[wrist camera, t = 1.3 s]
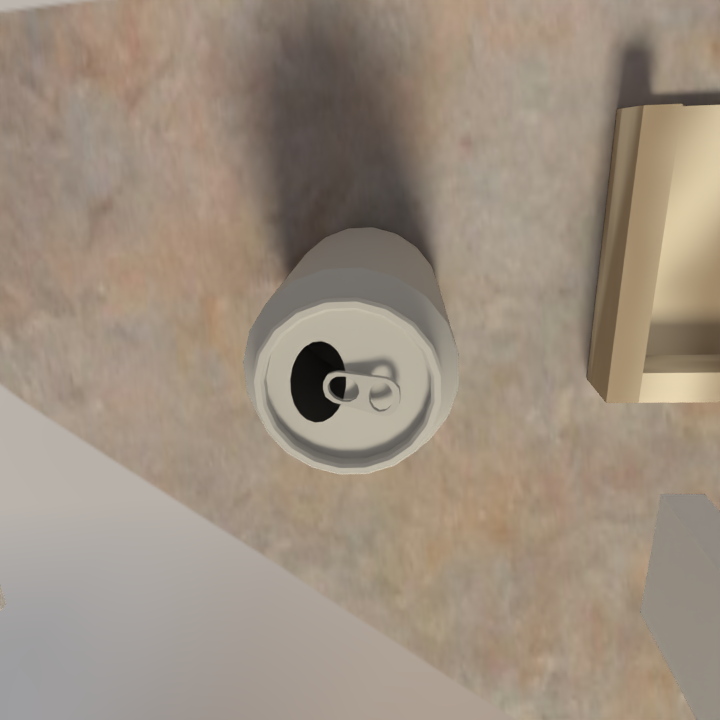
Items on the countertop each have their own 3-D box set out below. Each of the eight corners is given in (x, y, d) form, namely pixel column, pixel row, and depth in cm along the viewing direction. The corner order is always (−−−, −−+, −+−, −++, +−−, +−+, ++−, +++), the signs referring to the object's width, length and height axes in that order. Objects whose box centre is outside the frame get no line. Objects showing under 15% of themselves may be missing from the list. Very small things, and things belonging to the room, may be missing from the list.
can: (297, 216, 28) (232, 265, 17) (449, 233, 28) (485, 293, 17) (288, 358, 31) (227, 481, 20) (427, 374, 31) (445, 507, 20)
